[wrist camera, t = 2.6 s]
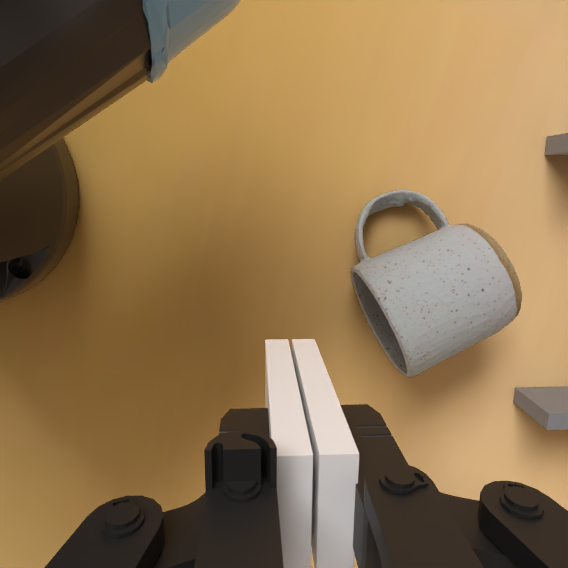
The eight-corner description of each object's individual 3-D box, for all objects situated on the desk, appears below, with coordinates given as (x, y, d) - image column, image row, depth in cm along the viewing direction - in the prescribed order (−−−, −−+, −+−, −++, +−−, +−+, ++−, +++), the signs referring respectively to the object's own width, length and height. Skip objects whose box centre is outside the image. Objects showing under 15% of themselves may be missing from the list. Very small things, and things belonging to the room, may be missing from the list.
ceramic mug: (484, 304, 32) (552, 337, 25) (381, 353, 33) (418, 400, 25) (429, 168, 30) (485, 159, 23) (320, 222, 30) (340, 231, 23)
